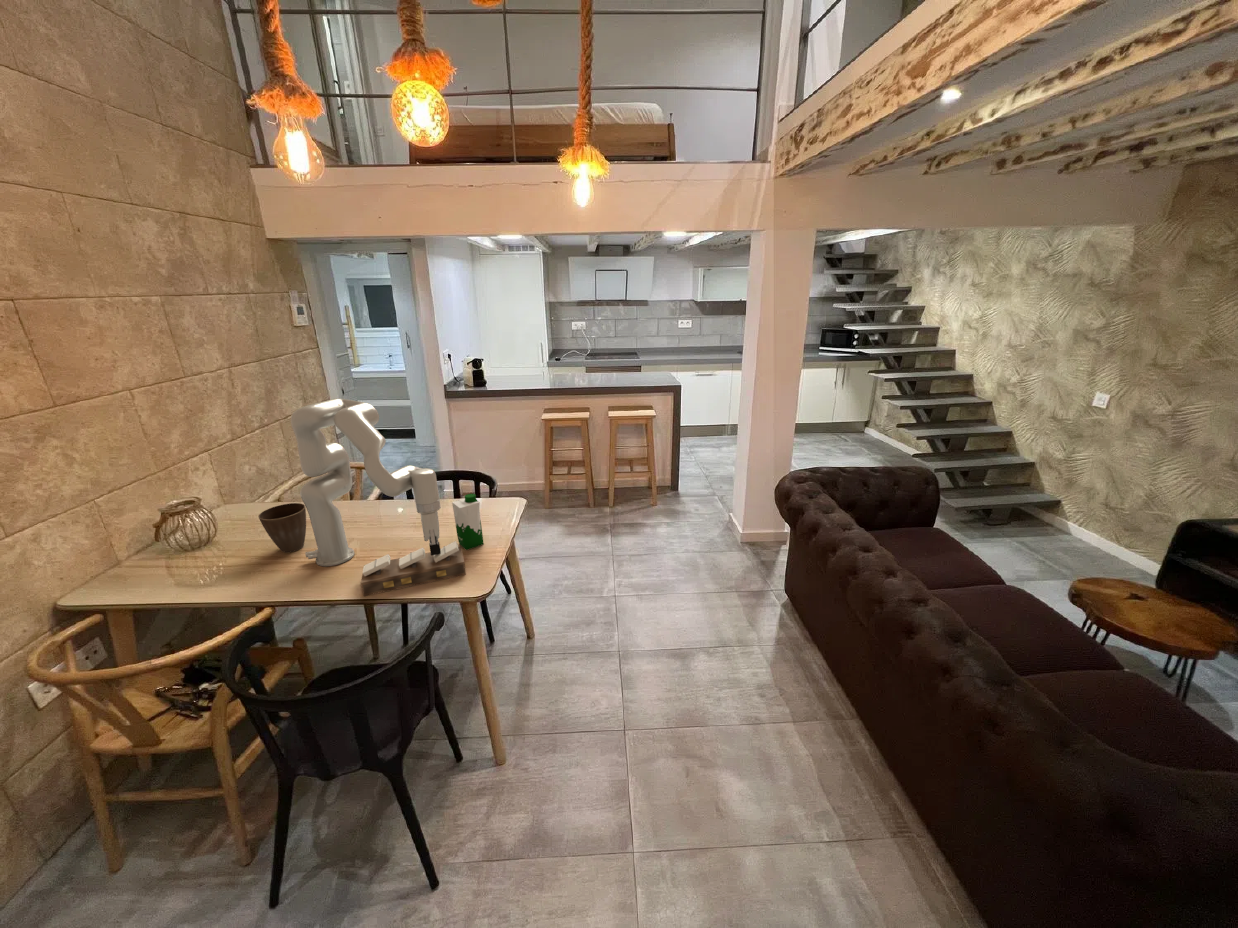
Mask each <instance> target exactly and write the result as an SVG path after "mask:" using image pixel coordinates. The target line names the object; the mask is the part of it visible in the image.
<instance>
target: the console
mask: <svg viewBox="0 0 1238 928" xmlns="http://www.w3.org/2000/svg"><path fill="white" fill-rule="evenodd" d="M462 548H463V547H462V546H461V545H460V546H458V549H459V550H458V551H457V552H455V553H453V554H451V555H449V556H447V557H446V558H444V559H442V560H440V561H438V562H435V561H434V555H431V552H430V551H428V552H425V558H423V559H421V560H419V561H417V562H415V563H413V564H411V565H409V566H407V567H405V568H403V569H401V568H400V567H399V559H400V558H401V557H399V558H394V559H390V565H388V566H385V567H383V568H381V569H379V570H377V571H375V572H373V573H371V574H369V575H367V576H364V575H363V572H362V575H361V580H360V587H361V590H362V595H363V597H366V596H372V595H377V594H380V593H386V592H390V591H394V590H395V591H396V590H400V589H404V588H408V587H409V588H410V587H414V586H417V585H418V586H419V585H423V584H428V583H432V582H437V581H441V580H447V579H450V578H455V577H461V576H465V575H466V574H467V573H466V572H467V571H466V566H465V565H466V564H465V557H464V554H463V549H462Z"/></svg>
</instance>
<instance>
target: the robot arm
mask: <svg viewBox="0 0 1238 928" xmlns="http://www.w3.org/2000/svg"><path fill="white" fill-rule="evenodd" d="M379 420H380V415H379V412H378V410H377V409H376V408H375V407H374V406H373V405H372V404H371V403H367V402H363V401H358V400H354V399H353V400H352V399H347V398H333V399H327V400H325V401H320V402H315V403H312V404H311V403H310V404H308V405H305V406H304V405H303V406H302V407H300V408H299V407H298V408H297V409H296V410H294V411H293V413H292V414H291V416H290V426H291V429H292V431H293V434H294V436H295V440H296V444H297V445H296V447H297V451H298V458H299V462H300V468H301V471H302V473H303V474H304V475H305V476H306V477H309V478H311V477H312V478H313V479H310V480H309V481H307V482H306V483H305V484H303V485H302V487H301V488H300V491H299V495H300V498H301V500H302V502H303V504H304V505H305V509H306V510H307V511H306V512H307V513H308V517H309V519H310V520H309V521H310V523H311V527H312V530H313V531H312V532H313V535H314V539H315V543H316V546H317V549H315V550H311V551H305V552H304V553H305V558H308V560H313V559H315V563H316V565H318V566H320V567H332V566H337V565H341V564H343V563H345V562H348V561H350V560H351V559H352V558H353V557H354V556H355V549H354V548H352V547H349V544H348V541H347V539H348V538H347V534H346V531H345V527H344V522H343V518H342V514H341V511H340V509H339V508H338V507H337V506H336V505H335V504H334V503H333V502H334V500H336V499H338V498H340V497H342V496H344V495H346V494H348V493H349V492H350V491H351V489H352V487H353V486H352V485H353V479H352V478H353V477H352V470H351V462H350V457H349V453H348V452H347V450H346V449H345V447H343V445H342V444H339V443H337V442H327V438H326V436H325V434H324V432H323V431H322V429H325V428H326V429H327V428H329V427H333V426H336V428H337V429H338V430H339V431H340V432H341V433H342V434H343V435H344V437H346V438H347V439H348V441H350V442H351V444H352V445H353V446H354V447H355V448H356V449H357V450H358V451H359V453H360V454H362V456H363V466H364V468H365V472H366V473H365V474H366V475H367V477H368V479H369V480H370V482H372V484H373V485H374V486H375V487H376V488H377V490H379V491H380V492H381V493H383V494H384V495H386V496H388V497H393V498H394V497H397V496H400V495H402V494H404V493H405V492H407V491H409V490H412V491H413V497H414V503H415V509H416V512H417V513H418V514H420V521H421V526H422V533H423V541H424V542H427V541H428V542H429V552H431V555H438V554H441V551H440V549H441V546H440V545H441V544H440V541H439V539H440V520H439V515H438V511H440V509H441V501H440V495H439V494H440V493H439V488H438V482H437V481H438V480H437V474H436V472H435V470H434V469H432V468H421V467H418V466H414V465H409V464H407V465H404V466H402V467H400V468H398V469H395V470H394V471H391V472H390V471H388V470H387V468H385V466H384V465H383V464H382V462H381V459H380V452H381V451H382V449H383V448H384V447H385V445H386V441H387V440H386V438H385V437H384V436H383V435H382V434H381V433H380V431H379V430H378V429H377V428H376V427H375V425H377V424H378V423H379Z"/></svg>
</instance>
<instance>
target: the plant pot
mask: <svg viewBox="0 0 1238 928" xmlns="http://www.w3.org/2000/svg"><path fill="white" fill-rule="evenodd" d="M306 510H307V508H306V506H305V504H304V503H300V502H292V503H284V504H278V505H276V506H272V507H270V508H267V509H265V510H263V511H261V512H260V513H259V514H258V517H257V518H258V519H259V520H260V523H261V525H262V526H263V529H264V530H265V532H266V534H267V535H268V536H269V538H270V539H271V540H272V542H273V543H274V544H275V546H277V548H278V549H279V550H280V551H281V552H282V553H284V554H285V553H287V554H288V553H293V552H296V551H299V550H301V549H302V548H303V547H304V545H305V541H306V535H307V513H306V512H307V511H306Z"/></svg>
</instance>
